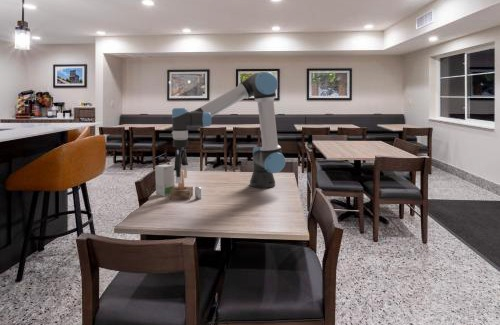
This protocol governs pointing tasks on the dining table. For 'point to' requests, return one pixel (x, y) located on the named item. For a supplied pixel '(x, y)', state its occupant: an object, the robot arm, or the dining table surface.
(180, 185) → the long pin
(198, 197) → the short pin
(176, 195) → the socket block
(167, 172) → the skincare box
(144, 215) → the dining table surface
